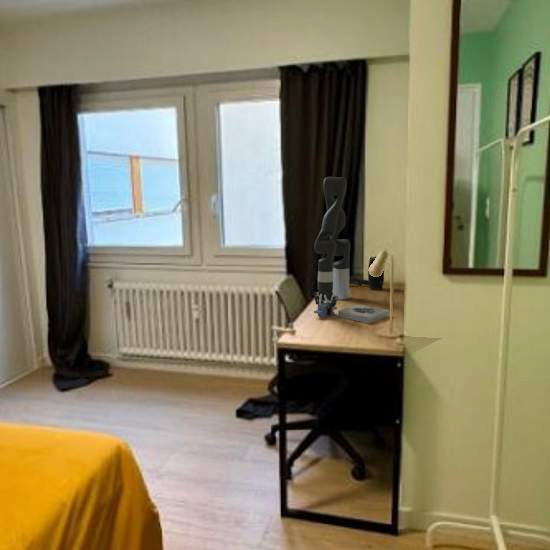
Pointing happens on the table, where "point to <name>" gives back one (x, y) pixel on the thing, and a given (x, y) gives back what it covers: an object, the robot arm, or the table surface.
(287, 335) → the table surface
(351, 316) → the chassis
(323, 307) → the servo
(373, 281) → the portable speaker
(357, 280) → the adjustable wrench
